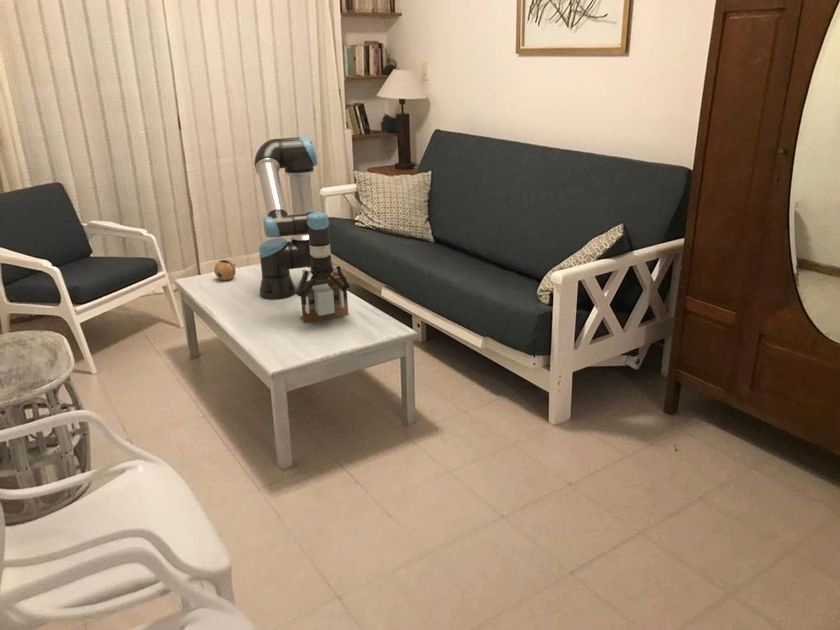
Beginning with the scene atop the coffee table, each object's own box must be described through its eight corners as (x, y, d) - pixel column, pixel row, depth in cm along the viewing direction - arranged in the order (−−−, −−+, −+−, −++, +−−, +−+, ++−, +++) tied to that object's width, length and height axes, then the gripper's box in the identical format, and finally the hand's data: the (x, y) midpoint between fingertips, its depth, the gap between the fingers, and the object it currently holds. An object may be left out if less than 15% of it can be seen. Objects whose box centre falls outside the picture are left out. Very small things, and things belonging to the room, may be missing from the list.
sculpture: (206, 267, 306) (224, 250, 318) (209, 283, 312) (227, 266, 323) (224, 271, 304) (242, 254, 315) (227, 288, 310) (244, 271, 321)
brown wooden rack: (300, 318, 268) (296, 279, 262) (344, 310, 275) (341, 272, 269) (306, 325, 261) (302, 285, 255) (351, 317, 268) (348, 278, 262)
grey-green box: (313, 307, 263) (311, 286, 259) (328, 305, 265) (326, 283, 262) (319, 316, 256) (318, 294, 252) (335, 313, 258) (334, 291, 254)
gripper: (289, 262, 243) (295, 318, 251) (356, 253, 253) (359, 306, 261) (284, 257, 250) (290, 311, 258) (349, 248, 259) (352, 300, 267)
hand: (324, 309), depth 259 cm, fingers open, 13 cm apart
